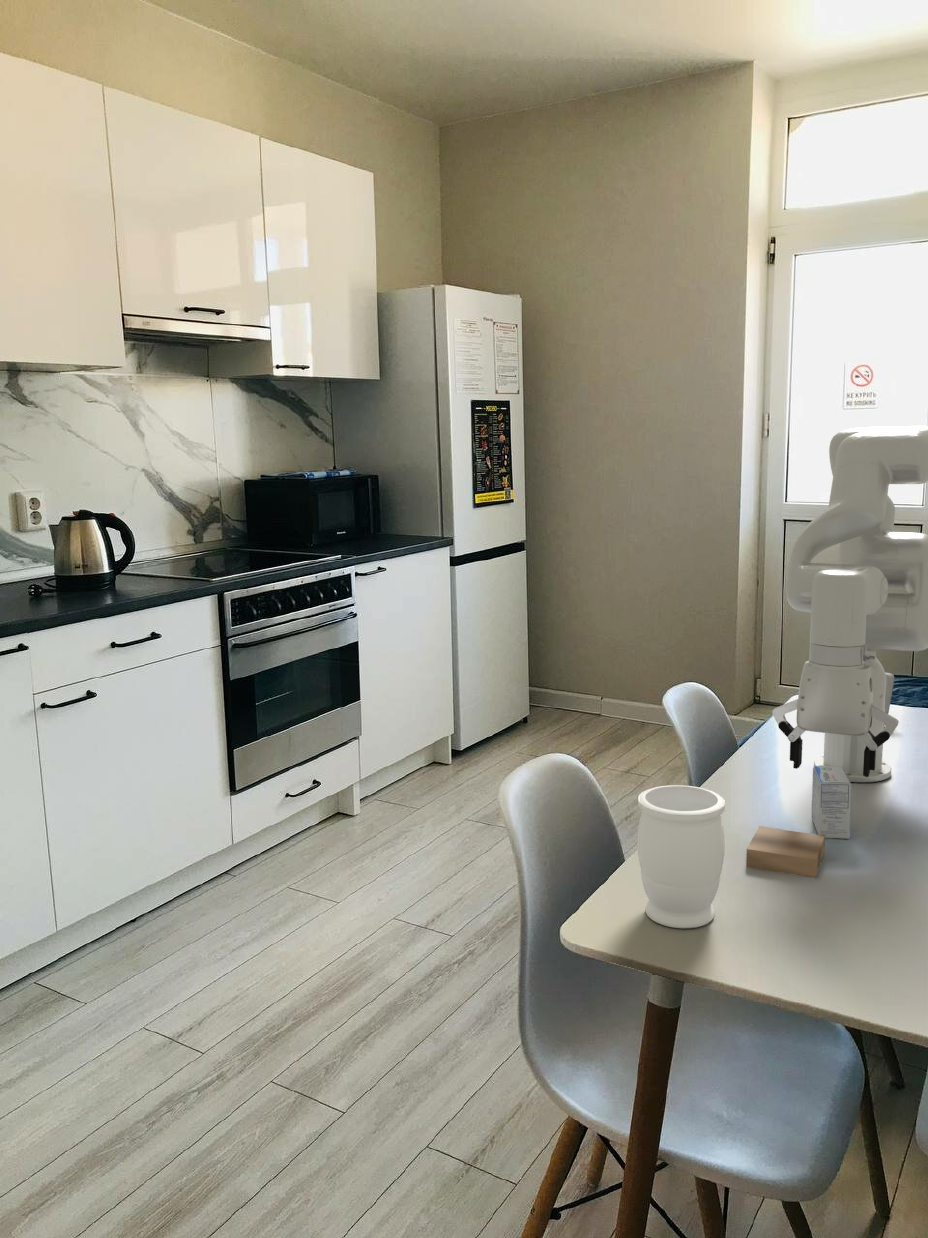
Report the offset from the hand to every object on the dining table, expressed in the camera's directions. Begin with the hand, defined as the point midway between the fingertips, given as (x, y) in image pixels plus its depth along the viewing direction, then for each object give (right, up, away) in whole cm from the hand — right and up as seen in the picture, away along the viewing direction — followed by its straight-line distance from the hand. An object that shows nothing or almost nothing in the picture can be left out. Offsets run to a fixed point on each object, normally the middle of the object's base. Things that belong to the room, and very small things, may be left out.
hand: (831, 770), depth 148 cm
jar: (-27, -14, -23) cm, 39 cm away
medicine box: (+1, -9, +2) cm, 10 cm away
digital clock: (+26, +1, +60) cm, 65 cm away
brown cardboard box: (-9, -12, -8) cm, 17 cm away
